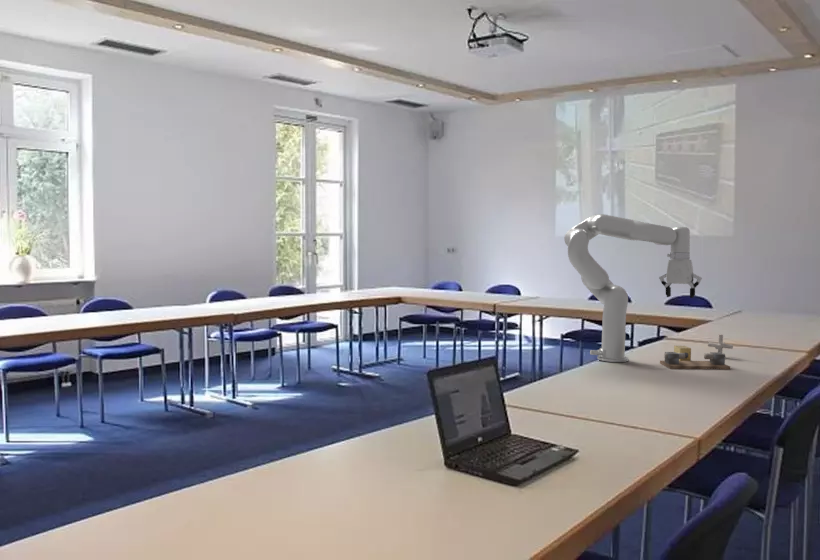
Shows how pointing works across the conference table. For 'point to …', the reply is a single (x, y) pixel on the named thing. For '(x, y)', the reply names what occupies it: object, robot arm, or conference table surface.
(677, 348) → the block
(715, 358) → the shaft stand
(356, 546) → the conference table surface
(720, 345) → the pipe connector
